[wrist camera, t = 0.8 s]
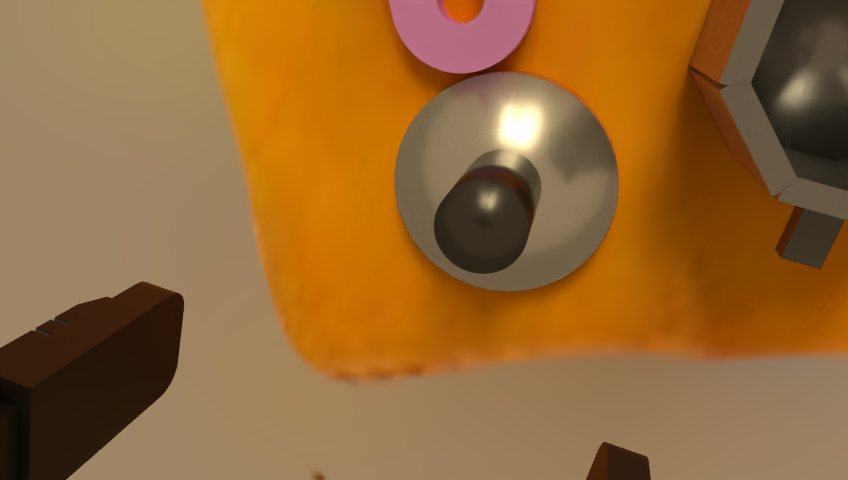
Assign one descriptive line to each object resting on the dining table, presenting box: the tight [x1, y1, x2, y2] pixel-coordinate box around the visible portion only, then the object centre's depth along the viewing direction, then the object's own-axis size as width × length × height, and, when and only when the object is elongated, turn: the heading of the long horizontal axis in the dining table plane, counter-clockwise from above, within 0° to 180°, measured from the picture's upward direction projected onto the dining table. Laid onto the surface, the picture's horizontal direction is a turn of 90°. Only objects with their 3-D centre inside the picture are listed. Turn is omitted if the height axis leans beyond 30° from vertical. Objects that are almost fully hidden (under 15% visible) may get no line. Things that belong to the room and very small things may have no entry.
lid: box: [395, 71, 618, 291], centre depth 26 cm, size 9×9×7 cm
